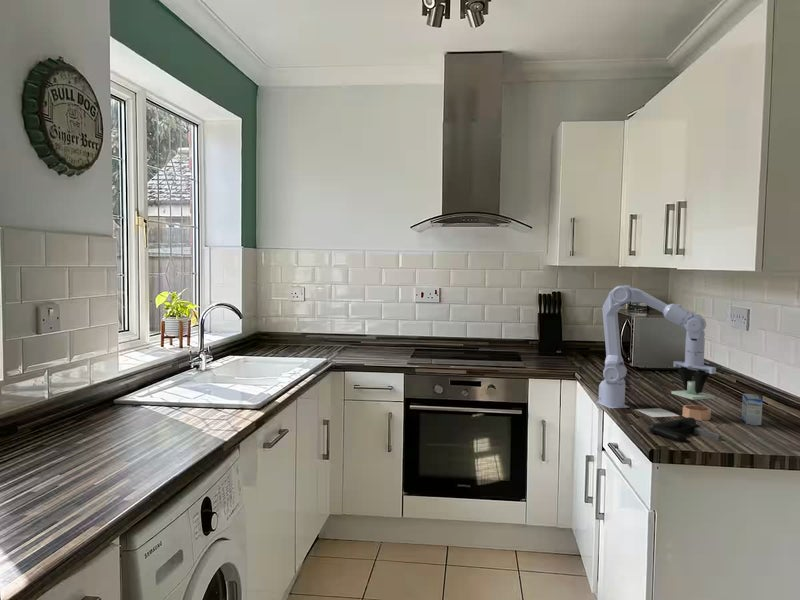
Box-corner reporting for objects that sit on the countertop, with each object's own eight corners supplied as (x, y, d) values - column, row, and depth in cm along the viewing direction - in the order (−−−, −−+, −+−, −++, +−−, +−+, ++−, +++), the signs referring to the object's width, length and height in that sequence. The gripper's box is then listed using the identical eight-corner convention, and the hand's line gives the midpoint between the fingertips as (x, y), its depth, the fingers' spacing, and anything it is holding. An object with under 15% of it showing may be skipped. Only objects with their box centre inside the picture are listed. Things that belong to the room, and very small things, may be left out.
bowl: (677, 415, 196) (678, 405, 196) (698, 414, 198) (698, 404, 197) (694, 422, 188) (694, 411, 188) (715, 421, 190) (716, 410, 189)
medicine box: (741, 418, 193) (742, 393, 193) (756, 420, 192) (757, 394, 191) (745, 424, 186) (747, 398, 186) (761, 426, 184) (763, 399, 184)
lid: (671, 393, 196) (671, 379, 196) (692, 392, 199) (693, 378, 198) (692, 399, 187) (693, 385, 187) (714, 398, 190) (715, 383, 190)
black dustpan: (734, 430, 172) (685, 414, 186) (691, 439, 162) (644, 422, 176) (733, 441, 172) (684, 424, 186) (690, 450, 163) (643, 432, 177)
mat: (634, 410, 202) (634, 409, 202) (660, 409, 204) (660, 408, 204) (652, 418, 192) (652, 417, 192) (680, 417, 194) (680, 415, 194)
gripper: (667, 349, 197) (666, 388, 198) (706, 355, 184) (704, 396, 185) (681, 348, 200) (680, 386, 201) (720, 353, 187) (719, 395, 188)
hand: (693, 391), depth 193 cm, fingers closed on lid, 4 cm apart
